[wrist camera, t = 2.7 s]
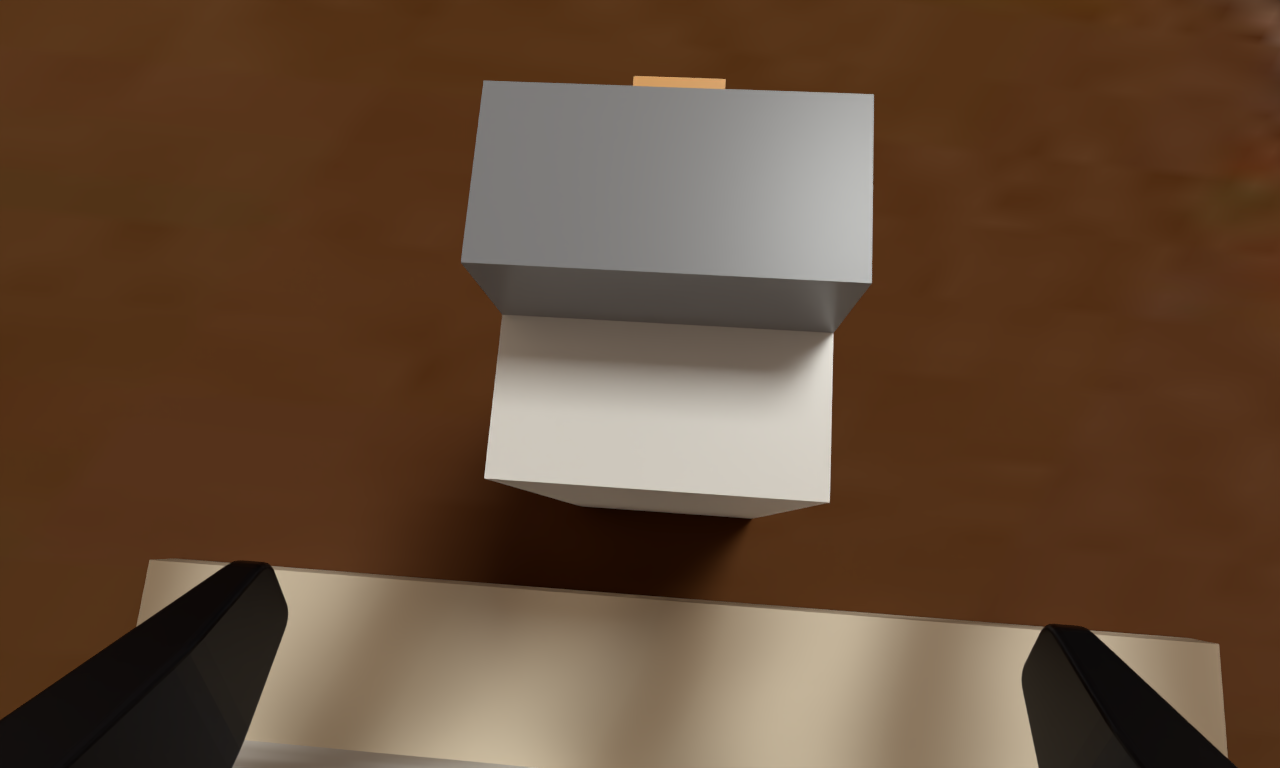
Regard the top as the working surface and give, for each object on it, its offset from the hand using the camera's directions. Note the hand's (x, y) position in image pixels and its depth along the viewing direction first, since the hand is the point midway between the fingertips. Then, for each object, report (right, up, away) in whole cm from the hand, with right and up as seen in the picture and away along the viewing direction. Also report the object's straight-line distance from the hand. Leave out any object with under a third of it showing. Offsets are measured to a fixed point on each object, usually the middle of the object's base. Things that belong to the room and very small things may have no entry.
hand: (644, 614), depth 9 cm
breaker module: (+1, +2, +11) cm, 11 cm away
